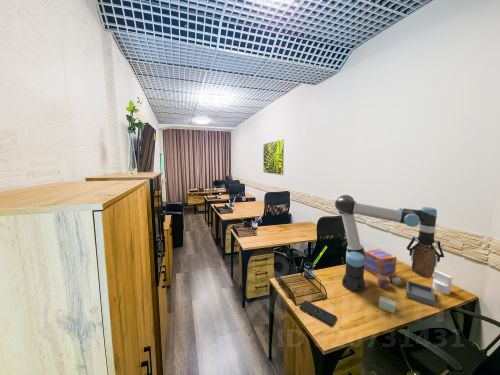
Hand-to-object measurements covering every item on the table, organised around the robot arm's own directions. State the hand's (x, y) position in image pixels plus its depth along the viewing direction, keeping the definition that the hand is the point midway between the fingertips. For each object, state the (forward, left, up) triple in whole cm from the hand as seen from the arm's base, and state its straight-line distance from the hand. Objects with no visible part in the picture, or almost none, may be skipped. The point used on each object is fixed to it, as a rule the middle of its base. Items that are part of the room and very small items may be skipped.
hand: (423, 263), depth 131 cm
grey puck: (-13, +5, -22) cm, 26 cm away
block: (0, 0, -8) cm, 8 cm away
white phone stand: (+12, +16, -23) cm, 30 cm away
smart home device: (-48, -60, -23) cm, 80 cm away
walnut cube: (-20, -3, -23) cm, 30 cm away
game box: (-25, +16, -23) cm, 38 cm away
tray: (0, 0, -22) cm, 22 cm away
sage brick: (-16, -29, -23) cm, 40 cm away
